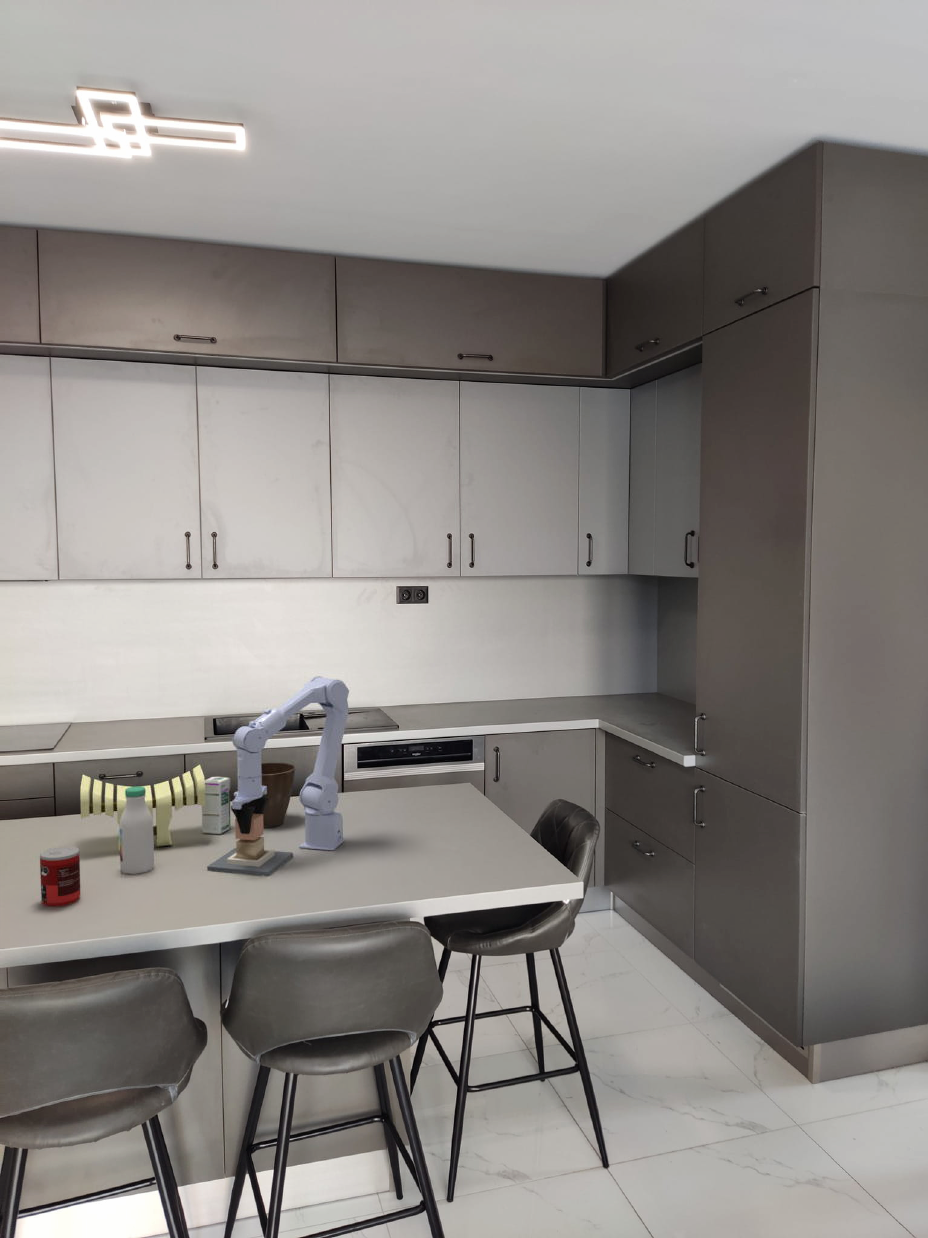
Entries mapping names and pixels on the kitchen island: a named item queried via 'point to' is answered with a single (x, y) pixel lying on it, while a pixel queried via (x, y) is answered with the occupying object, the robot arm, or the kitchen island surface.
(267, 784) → the plant pot
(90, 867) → the kitchen island surface
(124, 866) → the milk bottle
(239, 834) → the terracotta block
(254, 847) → the oak block
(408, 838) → the kitchen island surface
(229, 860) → the slate baseplate
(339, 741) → the robot arm
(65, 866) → the canned food
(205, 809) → the syrup box
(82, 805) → the slatted curved stool
